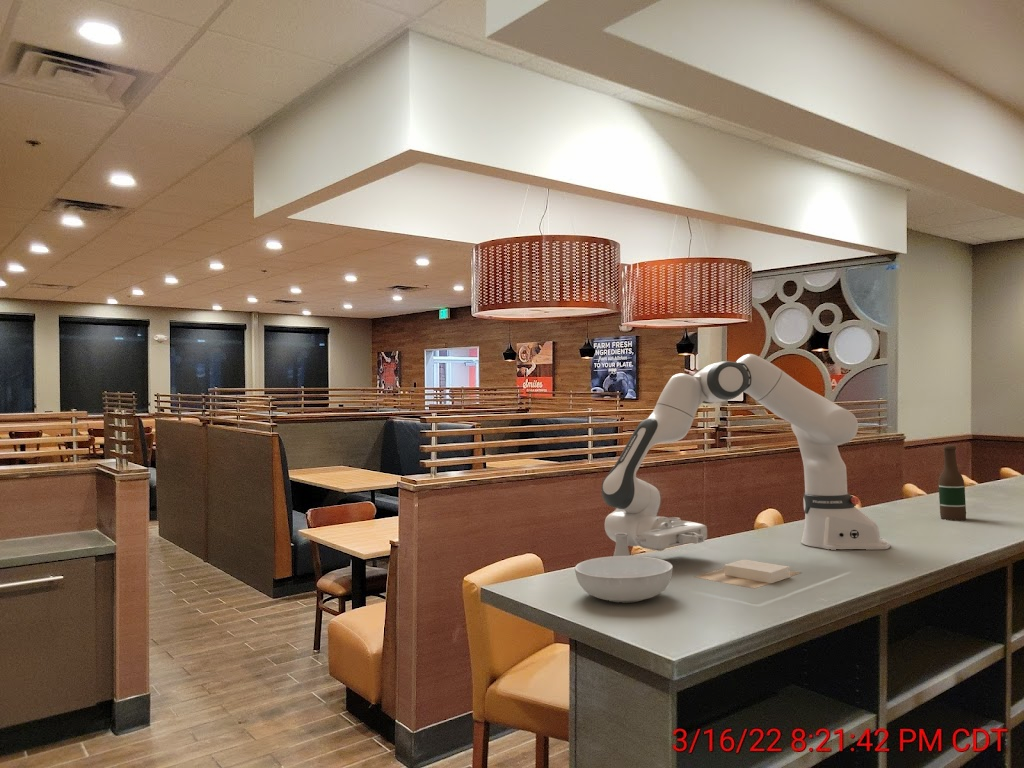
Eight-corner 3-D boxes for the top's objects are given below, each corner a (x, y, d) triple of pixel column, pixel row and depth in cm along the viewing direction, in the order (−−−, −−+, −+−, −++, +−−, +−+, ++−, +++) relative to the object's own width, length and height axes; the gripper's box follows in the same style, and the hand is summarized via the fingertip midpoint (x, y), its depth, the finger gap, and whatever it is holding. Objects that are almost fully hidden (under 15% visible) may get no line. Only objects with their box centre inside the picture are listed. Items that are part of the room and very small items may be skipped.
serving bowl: (590, 583, 173) (589, 553, 173) (680, 588, 165) (679, 557, 165) (563, 607, 153) (562, 573, 154) (664, 614, 146) (663, 579, 146)
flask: (637, 579, 175) (635, 536, 175) (606, 578, 177) (605, 536, 177) (638, 572, 182) (636, 531, 182) (608, 571, 184) (607, 531, 184)
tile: (724, 564, 174) (770, 572, 165) (743, 559, 179) (789, 566, 170) (724, 575, 174) (771, 583, 164) (743, 569, 179) (790, 577, 170)
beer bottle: (944, 516, 248) (941, 444, 248) (970, 518, 242) (967, 445, 242) (935, 519, 243) (932, 446, 243) (961, 521, 237) (958, 446, 237)
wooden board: (693, 578, 173) (693, 576, 173) (742, 564, 186) (741, 562, 186) (754, 590, 161) (754, 588, 161) (801, 574, 174) (801, 572, 174)
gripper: (629, 526, 187) (674, 532, 177) (679, 516, 201) (723, 521, 190) (630, 551, 187) (674, 558, 177) (680, 539, 200) (724, 546, 190)
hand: (700, 539), depth 183 cm, fingers closed
